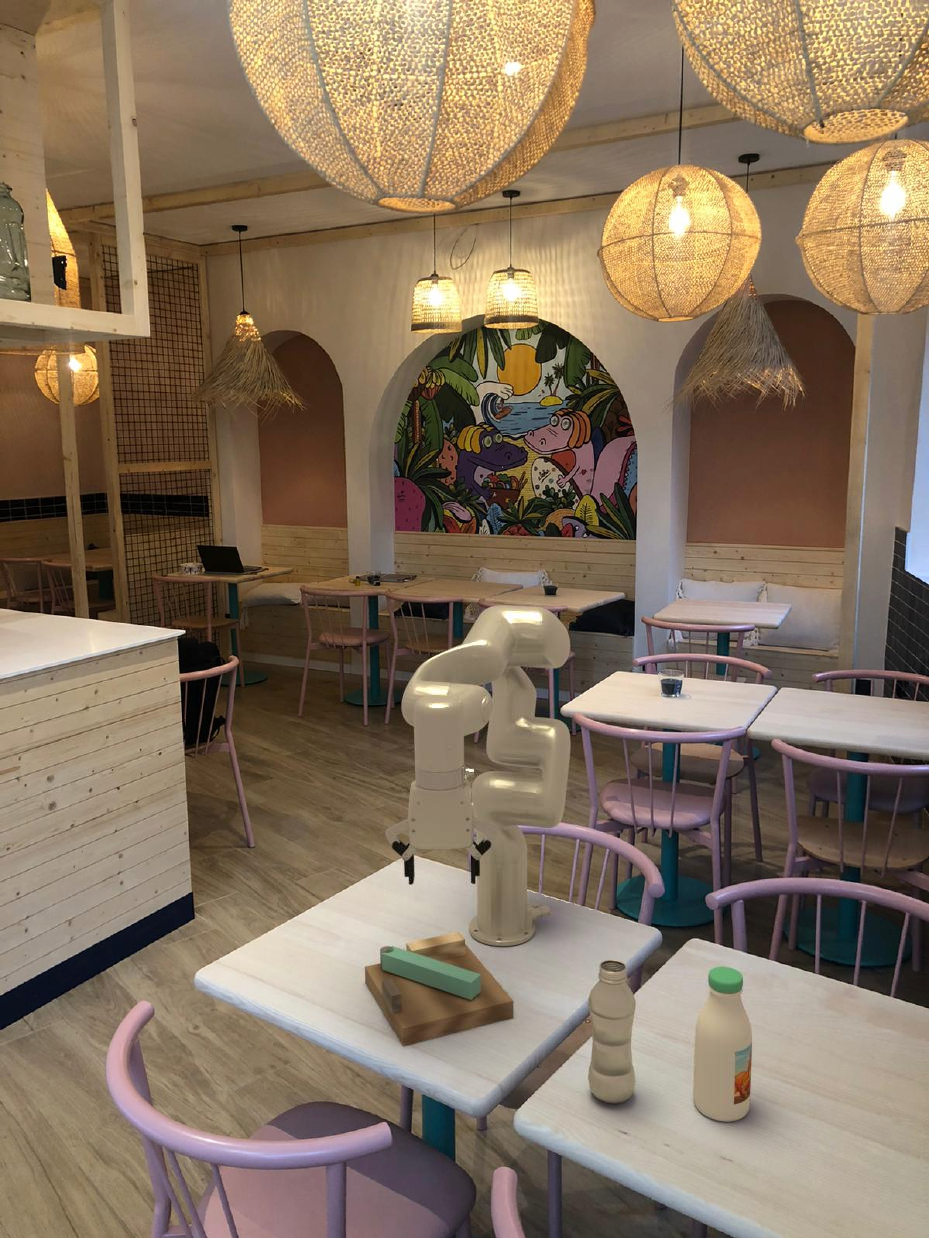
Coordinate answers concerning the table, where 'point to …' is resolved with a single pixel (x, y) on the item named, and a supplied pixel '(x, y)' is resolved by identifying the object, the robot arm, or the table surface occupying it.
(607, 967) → the plastic bottle
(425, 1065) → the table surface
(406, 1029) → the stool seat
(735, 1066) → the milk bottle
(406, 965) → the folding leg
